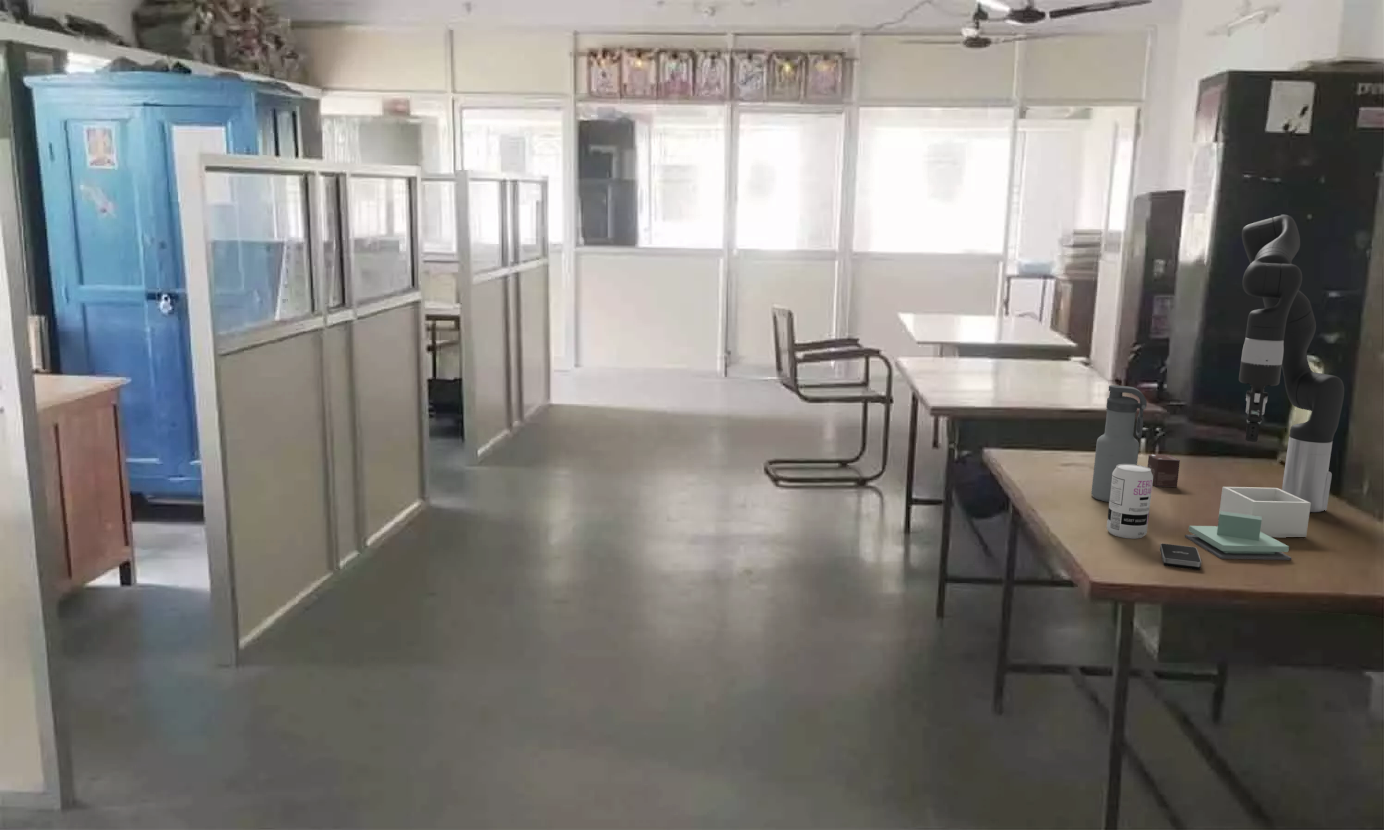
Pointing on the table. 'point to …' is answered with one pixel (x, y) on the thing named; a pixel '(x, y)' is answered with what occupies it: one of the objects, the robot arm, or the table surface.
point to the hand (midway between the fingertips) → (1251, 437)
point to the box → (1164, 470)
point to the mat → (1235, 555)
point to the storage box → (1269, 509)
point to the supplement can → (1129, 501)
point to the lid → (1239, 535)
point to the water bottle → (1117, 438)
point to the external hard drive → (1180, 556)
